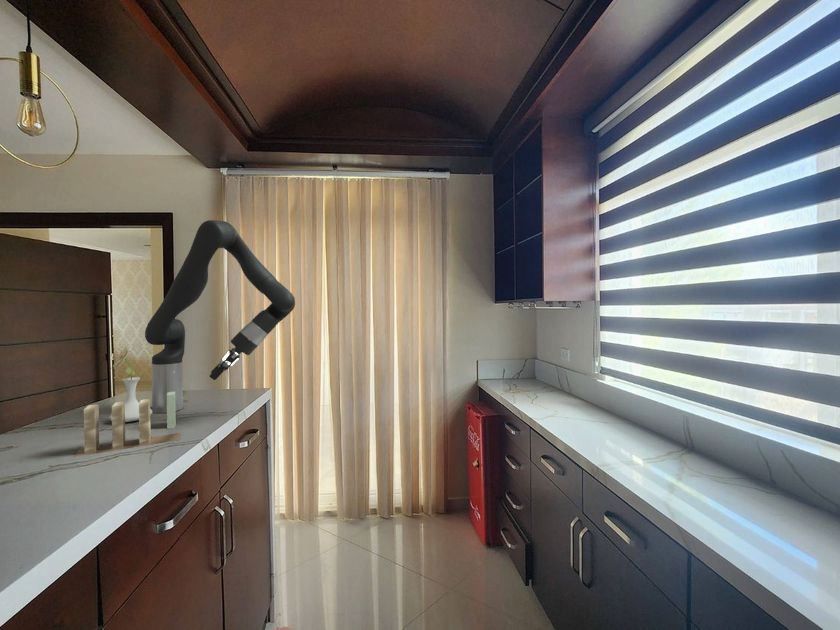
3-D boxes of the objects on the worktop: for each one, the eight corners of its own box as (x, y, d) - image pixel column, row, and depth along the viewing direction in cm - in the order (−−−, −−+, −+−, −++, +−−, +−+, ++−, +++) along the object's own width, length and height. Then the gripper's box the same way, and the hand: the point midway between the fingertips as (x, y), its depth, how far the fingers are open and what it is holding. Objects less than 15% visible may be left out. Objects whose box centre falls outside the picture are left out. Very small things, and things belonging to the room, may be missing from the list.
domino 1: (112, 449, 95) (111, 406, 95) (115, 443, 100) (115, 402, 100) (122, 447, 97) (121, 405, 96) (125, 441, 101) (124, 401, 101)
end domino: (84, 453, 93) (83, 409, 92) (89, 447, 97) (88, 405, 97) (95, 452, 94) (94, 408, 93) (99, 445, 98) (98, 404, 98)
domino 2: (139, 445, 98) (138, 403, 98) (141, 439, 103) (141, 399, 102) (148, 443, 99) (148, 402, 99) (150, 438, 104) (150, 398, 103)
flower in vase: (115, 417, 127) (114, 344, 127) (156, 413, 132) (155, 342, 131) (102, 428, 115) (101, 348, 115) (147, 423, 120) (146, 346, 119)
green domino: (167, 431, 112) (166, 395, 112) (168, 427, 117) (167, 392, 116) (175, 430, 113) (174, 394, 113) (175, 426, 118) (175, 391, 117)
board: (73, 460, 91) (73, 456, 91) (81, 451, 97) (81, 447, 97) (180, 443, 102) (180, 439, 102) (181, 436, 108) (181, 432, 108)
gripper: (239, 330, 130) (203, 366, 125) (240, 331, 117) (200, 372, 112) (257, 343, 132) (222, 380, 127) (260, 346, 120) (221, 387, 115)
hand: (212, 376), depth 120 cm, fingers open, 8 cm apart
